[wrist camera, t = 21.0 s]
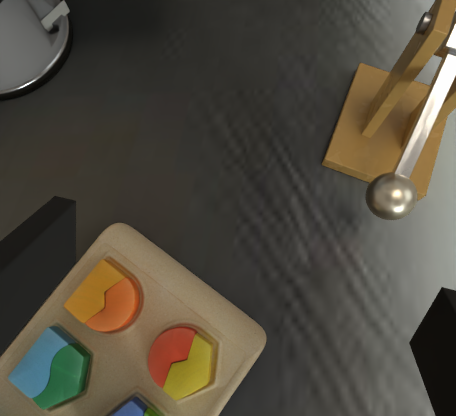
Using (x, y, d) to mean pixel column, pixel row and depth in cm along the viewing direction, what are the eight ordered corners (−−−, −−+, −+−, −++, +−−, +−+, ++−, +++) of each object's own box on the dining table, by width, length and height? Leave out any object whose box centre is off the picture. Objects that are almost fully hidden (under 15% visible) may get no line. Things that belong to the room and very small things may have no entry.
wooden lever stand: (418, 200, 38) (542, 117, 23) (321, 165, 39) (378, 63, 24) (446, 101, 42) (570, -28, 27) (355, 71, 43) (425, -70, 28)
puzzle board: (-26, 392, 33) (-54, 399, 30) (122, 219, 38) (112, 209, 34) (130, 541, 30) (119, 567, 27) (271, 334, 35) (276, 334, 31)
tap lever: (398, 222, 31) (410, 231, 28) (354, 206, 32) (362, 213, 28) (485, 31, 28) (512, 14, 25) (437, 16, 29) (456, -3, 25)
